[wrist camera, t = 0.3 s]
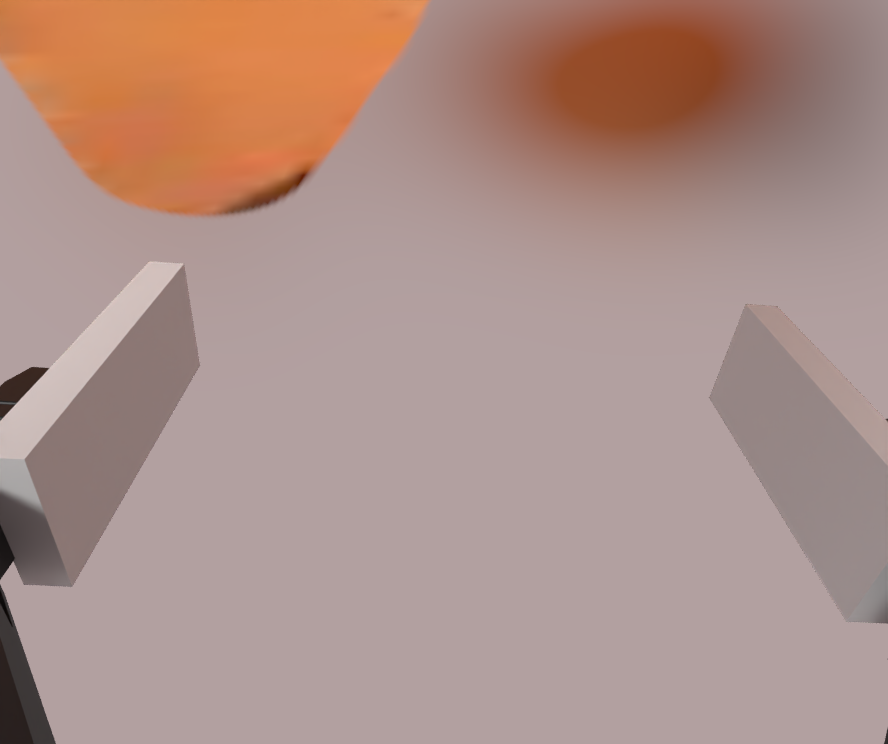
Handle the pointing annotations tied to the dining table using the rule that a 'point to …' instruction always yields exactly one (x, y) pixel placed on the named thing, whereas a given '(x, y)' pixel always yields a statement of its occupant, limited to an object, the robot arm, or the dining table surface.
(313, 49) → the dining table surface
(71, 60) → the dining table surface
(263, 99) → the dining table surface
